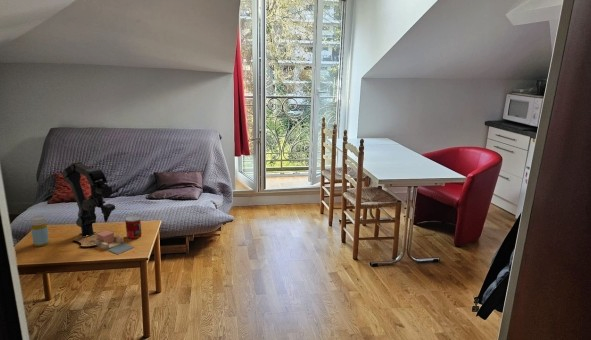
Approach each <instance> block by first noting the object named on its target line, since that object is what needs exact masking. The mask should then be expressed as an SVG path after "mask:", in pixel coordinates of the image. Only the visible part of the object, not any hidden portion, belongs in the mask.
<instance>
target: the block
mask: <svg viewBox="0 0 591 340" xmlns="http://www.w3.org/2000/svg"><path fill="white" fill-rule="evenodd" d="M114 235H115V232H113V231H110V230H104V231H101V232H98V233H96V236H97V237H96V239H97V240H100V241H102V242H105V243H107V244H109V243H111V242H114V241H115V240H114Z"/></svg>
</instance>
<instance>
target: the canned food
mask: <svg viewBox="0 0 591 340" xmlns="http://www.w3.org/2000/svg"><path fill="white" fill-rule="evenodd" d="M125 231H126V237H127V239H130V240H136V239H140V238H141V237H142V223H141V216H138V215H129V216H126V218H125Z"/></svg>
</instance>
